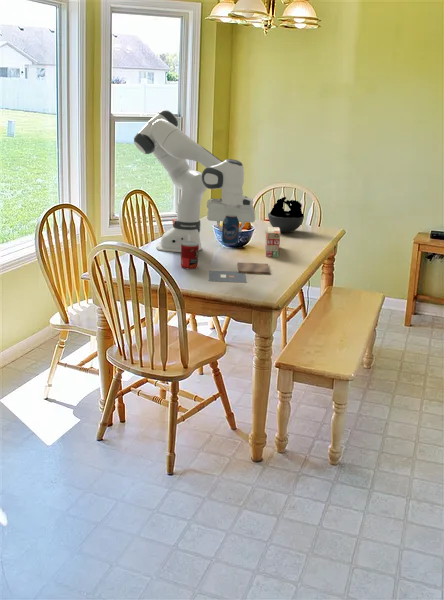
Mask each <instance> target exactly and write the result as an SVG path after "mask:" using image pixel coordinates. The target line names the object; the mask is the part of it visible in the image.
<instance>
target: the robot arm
mask: <svg viewBox="0 0 444 600" xmlns="http://www.w3.org/2000/svg"><path fill="white" fill-rule="evenodd" d="M178 126H179V121H178V119H177V117H176V115H175V114H174V113H172V111H169V109H161V110H160V111H159V112H157V114H156V115H154V116H153V117H152V118H150V120H148V121H147V123H146V124H145V125H144V126H143V127H142V128H141V129H140V131H139V132H137V133H136V134H135V136H134V137H133V142H134V145H135V147H136V148H137V149H138V151H140V152H141V153H143V154H145V155H149V154H150V155H151V154H153V156H154V157H155V158H156V159H157V161H158V162H159V163H160V165H161V166H162V167H163V168H164V169H165V170H166V171H165V172H167V174H168V176H169V178H170V180H171V182H172V183H173V185H174V187H176V188H177V189H178V190H181V192H182V193H181V197H180V200H179V202H178V203H177V206H176V207H177V208H176V209H177V211H176V212H177V213H176V214H177V215H176V218H173V219H172V222H171V223H172V227H171V228H170V229H168V230H167V231H165V232H164V233H163V234H162V236H161V239H160V242H158V243H157V244H156V247H155V248H156V250H158V251H162V252H174V253H181V243H182V242H183V241H194V242H197V243H199V251H201V250H202V249H203V247H202V243H201V233H200V232H201V226H202V225H201V220H200V218H201V217H200V216H201V205H202V200H203V196H204V193H205V192H206V191H207V190H208V189H210V190H217V189H221V198H213V197H212V198H210V199H208V200H207V202H206V207H207V215H206V218H207V220H208V221H209V222H210V221H211V222H216V224H217V226H218V232H222V231H223V230H222V229H223V226H221V225H220V224H221V222H223V221H224V219H225V217H226V216H230V217H235V216H237V218H238V221H239V223H240V224H241V226H239V233H242V232H243V228H244V227H245V225H246V223H255V221H256V212H255V207H254V205H253V204H254V201H253V199H252V198H251V197H249V196H246V195H244V190H243V185H244V180H245V179H244V178H245V171H244V169H245V167H244V164H243V163H242V162H241V161H240V160H238V159H232V158H230V159H229V158H227V159H225V160H224V161H223V160H221V159H220V158H218V157H217V156H216V155H214V154H213V153H212V152H211V151H209V150H208V149H207V148H205V147H204V146H201V145H200V144H199V143H197V142H196V141H195V140H193V139H192V138H191V137H189V136H188V135H187V134H186V133H185V132H184V131H182V130H181V129H180V128H179V127H178ZM187 160H189V161H194V162H197V163H199V164H201V166H203V167H205V168H204V169H203V170H202V171H201V172H200V171H199V170H195V169H193V168H192V167H191V166H190V165H189V164H188V162H187Z"/></svg>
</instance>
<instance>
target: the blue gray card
mask: <svg viewBox="0 0 444 600" xmlns="http://www.w3.org/2000/svg"><path fill="white" fill-rule="evenodd" d="M246 275H247V273H238V270H237V271H234V270H232V271H231V270H213V269H212V270H208V281H209V282H219V283H220V282H221V283H223V282H224V283H244V284H245V283H246V284H247V276H246Z"/></svg>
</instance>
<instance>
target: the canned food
mask: <svg viewBox="0 0 444 600" xmlns="http://www.w3.org/2000/svg"><path fill="white" fill-rule="evenodd" d="M199 251H200V250H199V243H197V242H194V241H183V242H182V243H181V252H180V266H181V268H182V269H187V270H193V269H197V268H198V266H199Z"/></svg>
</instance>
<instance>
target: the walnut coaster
mask: <svg viewBox="0 0 444 600" xmlns="http://www.w3.org/2000/svg"><path fill="white" fill-rule="evenodd" d="M236 266H237V272H238V273H245V274H253V275H254V274H255V275H271V271H270V266H269V263H261V262H258V263H257V262H239V261H238V262H237V265H236Z"/></svg>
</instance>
